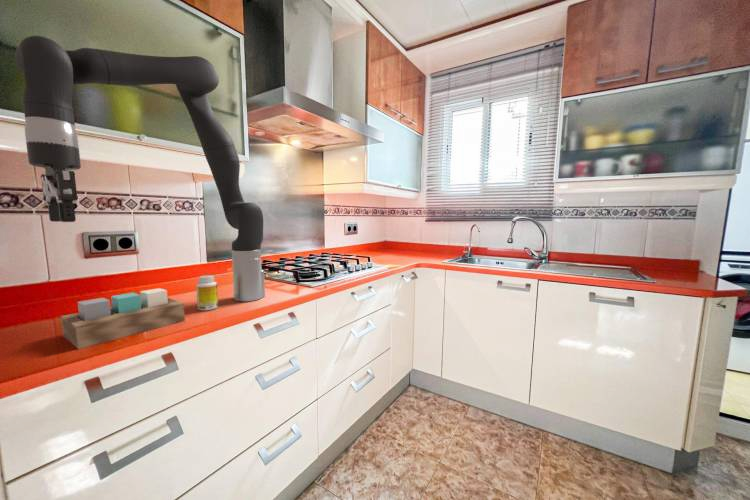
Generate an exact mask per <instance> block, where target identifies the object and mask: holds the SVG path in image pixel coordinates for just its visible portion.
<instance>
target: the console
mask: <svg viewBox="0 0 750 500" xmlns="http://www.w3.org/2000/svg"><path fill="white" fill-rule="evenodd" d="M184 305H185V304H184V302H181V301H179V300H175V299H173V298H169V297H168V303H167V304H162V305H157V306H152V307H148V308H147V307H144V306H142V305H141V309H138V310H133V311H129V312H124V313H119V314H117V313H115V312H113V311H112V305H110V309H111V315H110V316H105V317H100V318H96V319H91V320H86V321H82V320H81V319H79V312H76V313H75V312H74V313H71V314H66V315H61V316H60V318H61V319H60V321H61V328H62V337H63V338H64V339H65V340H67V341H68V342H69V343H70V344H72V345H73V347H76V349H78V350H81V349H85V348H88V347H92V346H96V345H100V344H103V343H107V342H111V341H115V340H118V339H122V338H126V337H129V336H134V335H137V334H140V333H144V332H145V333H146V332H149V331H152V330H156V329H159V328H163V327H167V326H170V325H174V324H178V323H182V322H185V320H186V319H185V318H186V317H185V306H184Z"/></svg>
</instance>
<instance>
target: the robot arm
mask: <svg viewBox="0 0 750 500" xmlns="http://www.w3.org/2000/svg"><path fill="white" fill-rule="evenodd" d="M13 58H14V63H15V64H16V66H17V68H18V69H19V70H20V71H21V72H22V73H23V75H24V82H25V87H24V89H23V92H22V104H23V105H22V106H23V111H24V135H25V136H24V137H25V143H26V151H27V152H26V153H27V159H28V161H27V162H28V164H29V165H31V166H33V167H37V168H43V169H44V170H45V171H44V173H41V175H40V178H41V186H42V195H43V197H42V200H43V202H45V204H47V208H48V217H49V221H50V222H53V223H54V222H55V223H56V222H60V223H61V222H62V223H74V222H76V219H77V218H76V212H75V204H76V202H77V201H78V198H79V197H78V191H77V182H76V176H75V175H76V173H75V171H76V170H80V169H81V168H82V166H81V165H82V164H81V155H80V146H79V139H78V138H79V136H78V133H77V130H76V124H75V115H74V109H73V108H74V107H73V92H74V91H73V90H74V89H73V88H74V87H73V86H74V85H84V84H85V85H86V84H97V85H98V84H99V85H107V86H108V85H110V86H122V87H123V86H124V87H128V86H129V87H131V86H133V87H134V86H135V87H136V86H137V87H138V86H140V87H141V86H151V85H175V87H176V89H177V91H178V93H179V96H180V97H181V100H182V101H183V104H184V106H185V107H186V111H187V112H188V113H189V116H190V119H191V122H192V124H193V127H194V129H195V132H196V135H197V137H198V140H199V142H200V145H201V148H202V151H203V154H204V157H205V159H206V162H207V164H208V166H209V169H210V172H211V174H212V177H213V181H214V184H215V185H216V188H217V191H218V194H219V197H220V201H221V202H220V203H221V205H222V209H223V213H224V217H225V219H226V222H227V224H228V225H229V226H230V227H231V228H233V229H235V230H237V237H236V239H235V240H233V241H232V242H231V261H232V283H233V300H234V301H235V302H252V301H256V300H261V299H262V298H263V297H266V293H265V292H266V290H265V289H266V287H265V286H266V285H265V270H263V268H262V243H263V240H264V214H263V210H262V209H261V207H260V206H259V205H258V204H256V203H253V202H245V200H244V198H243V195H242V192H241V188H240V169H241V168H240V167H241V163H240V158H239V155H238V153H237V149H236V145H235V143H234V140H233V139H232V137H231V135H230V134H229V132H228V131H227V130H226V129H225V127H224V126H223V124H222V123H221V121H219V120H218V118H217V117H216V115H215V113H214V111H213V108H212V106H211V102H210V100H209V96H208V94H210V93H212V92H213V91H215V90H216V89H217V88H218V86H219V82H220V77H219V73H218V71H217V69H216V68H215V66H214V65H213V64H212V62H210V61H209V60H207V59H206V58H205V57H203V56H202V57H201V56H198V55H191V56H159V55H146V54H145V55H144V54H135V53H129V52H128V53H127V52H120V51H114V50H108V49H107V50H106V49H101V48H100V49H99V48H93V47H80V48H78V49H73V50H68V49H64V48H63V47H62V45H60V44H59V43H57V42H56V41H55V40H52V39H50V38H48V37H45V36H42V35H41V36H40V35H31V36H26V37H25V38H23V39H22V41H21V42H20V43H19V44H18V46H17V48H16V50H15V52H14V57H13Z"/></svg>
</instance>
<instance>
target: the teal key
mask: <svg viewBox="0 0 750 500" xmlns="http://www.w3.org/2000/svg"><path fill="white" fill-rule="evenodd" d="M110 302H111V306H112V311H113V312H115V313H117V314H119V313H124V312H129V311H133V310H138V309H141V296H140V294H138V293H136V292H128V293H122V294H117V295H111V296H110Z"/></svg>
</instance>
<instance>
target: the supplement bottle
mask: <svg viewBox="0 0 750 500" xmlns="http://www.w3.org/2000/svg"><path fill="white" fill-rule="evenodd" d="M198 281H199V282H197V283H196V287H195V288H196V301H197V302H196V303H197V310H199V311H201V312H202V311H204V312H205V311H211V310H215V309H217V308H218V307H219V298H218V294H219V293H218V282H217V281H215V275H212V274H206V275H205V274H204V275H201V276H200V275H199V278H198Z"/></svg>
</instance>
